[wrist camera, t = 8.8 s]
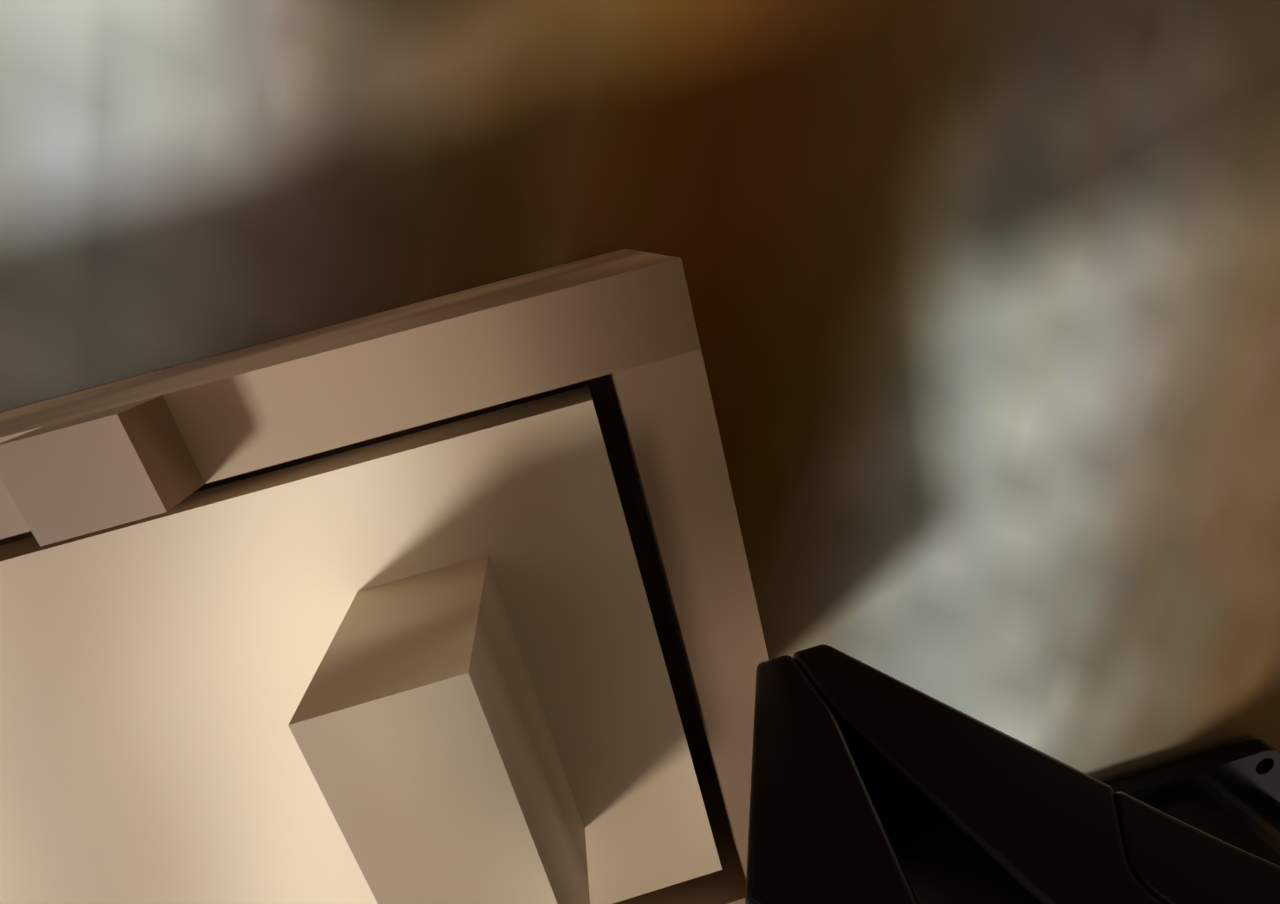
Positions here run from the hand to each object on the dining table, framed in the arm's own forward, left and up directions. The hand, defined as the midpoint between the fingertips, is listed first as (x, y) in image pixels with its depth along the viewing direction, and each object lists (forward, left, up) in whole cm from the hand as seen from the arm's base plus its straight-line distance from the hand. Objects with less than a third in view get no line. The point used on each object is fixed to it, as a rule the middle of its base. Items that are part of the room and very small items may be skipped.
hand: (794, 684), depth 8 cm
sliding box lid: (+8, 0, -2) cm, 9 cm away
